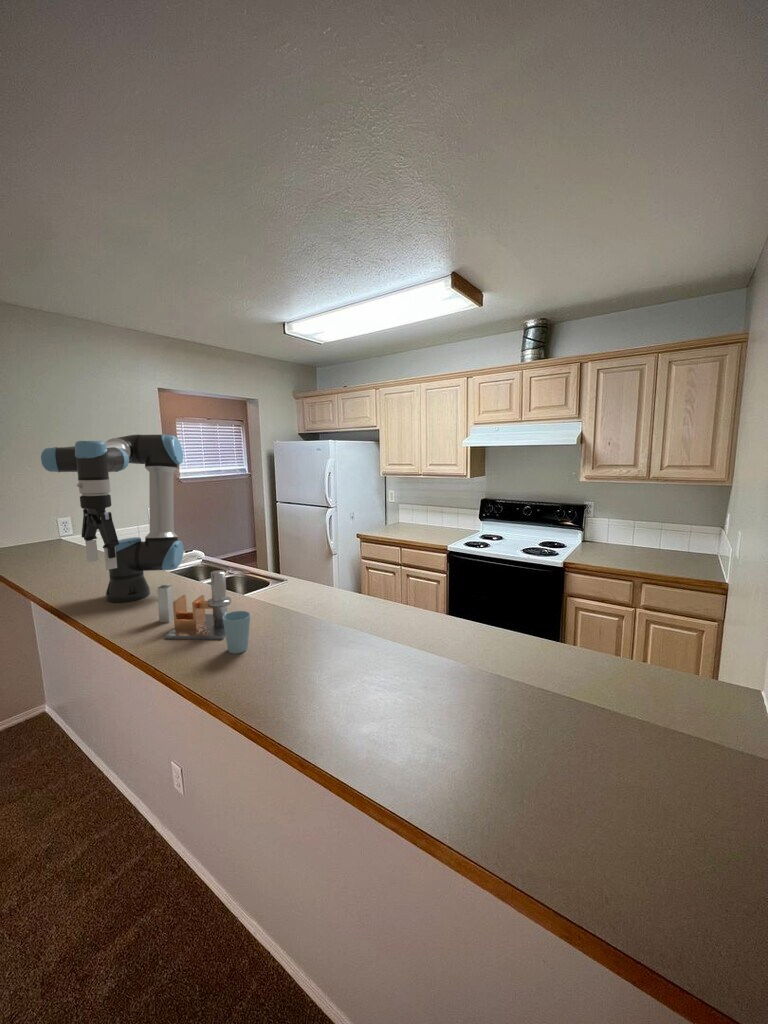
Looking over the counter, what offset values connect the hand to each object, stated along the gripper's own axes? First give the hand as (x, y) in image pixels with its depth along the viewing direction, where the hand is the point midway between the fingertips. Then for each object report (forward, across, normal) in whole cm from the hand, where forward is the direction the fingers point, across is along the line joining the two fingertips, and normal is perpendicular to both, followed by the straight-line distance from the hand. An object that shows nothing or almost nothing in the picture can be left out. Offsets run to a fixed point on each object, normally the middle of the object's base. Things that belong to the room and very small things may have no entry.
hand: (101, 564), depth 128 cm
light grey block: (+24, -2, +18) cm, 30 cm away
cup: (+24, +37, +20) cm, 48 cm away
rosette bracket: (+24, +15, +23) cm, 37 cm away
